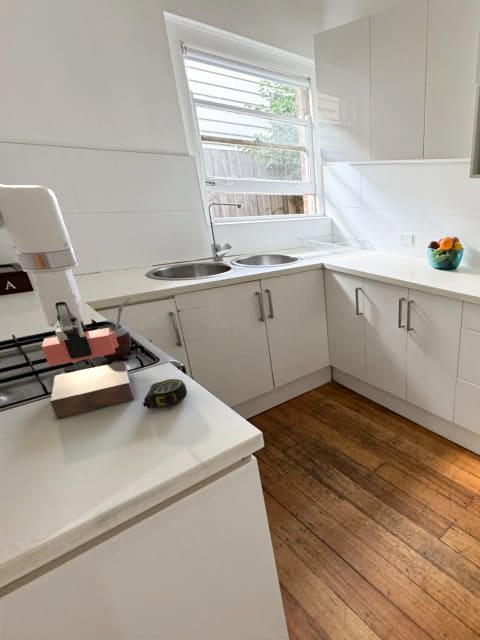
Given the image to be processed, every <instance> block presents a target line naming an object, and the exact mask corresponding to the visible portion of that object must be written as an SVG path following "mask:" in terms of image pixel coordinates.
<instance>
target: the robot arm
mask: <svg viewBox="0 0 480 640" xmlns="http://www.w3.org/2000/svg"><path fill="white" fill-rule="evenodd" d="M5 229H6V231H7V233H8V236H9V239H10V241H11V243H12V246H13V248H14V249H13V250H14V251H15V253H16V256H17V258H18V261H19V264H20V266H21V269H22V271H23V272H25V273H31V275H32V281H33V285H34V288H35V291H36V293H37V296H38V300H39V302H40V306H41V309H42V311H43V315H44V317H45V320H46V323H47V326H49V327H52V328H53V327H55V325H57V323H58V325H59V327H60V328H61V331H62V334H63V337H64V342H65V345H66V347H67V350H68V353H69V355H70V358H71V359H75V358H80V357H86V356H90V355H92V352H91V349H90V346H89V343H88V340H87V338H86V336H84V335H83V332H87V331H88V328H87V326H85V322H84V320H83V319H84V307H83V301H82V298H81V294H80V290H79V287H78V285H77V282H76V281H77V280H76V279H75V275H74V272H73V270H72V269H75V268H77V267H79V263H78V260H77V256H76V254H75V251H74V248H73V244H72V242H71V239H70V235H69V233H68V229H67V226H66V223H65V221H64V217H63V214H62V212H61V208H60V205H59V203H58V199H57V197H56V195H55V193H54V192H53V191H52V190H51V189H50V188H48V187H45V186H40V185H5V184H4V185H3V184H0V230H5ZM80 324H81V325H80ZM73 325H76V327H77V328H76V327H73ZM81 327H82V328H81ZM82 330H83V332H82Z"/></svg>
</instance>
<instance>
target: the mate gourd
mask: <svg viewBox="0 0 480 640" xmlns="http://www.w3.org/2000/svg"><path fill="white" fill-rule="evenodd" d="M130 300H131V297H129V298H128V299H126V300H125V301H123V302H122V303H121V304H120V305H119V306H118V308H117V316H116V324H108V325H104V326H103V325H102V326H100V327H99V328H97V329H96V330H99V329H105V328H109V331H110V332H114V333H115V335H116V339H117V342H118V345H119V347H117V348H115V353H114V354H109V355H103V356H102V357H103V358H104V359H105V360H104V363H106V364H110V363H111V362H114V361H116V360H122V361H129V359H130V358H129V357H128V356H129V355H131V354H133V352H132V350H131V349H130V348H131V345H132V336H131V333H130V331H129V329H128V328H126V327H125V326H124V325H122V324H120V321H121V316H122V312H123V308H124V306H125V305H126V304H127V303H128V302H129V301H130Z"/></svg>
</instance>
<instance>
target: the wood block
mask: <svg viewBox="0 0 480 640" xmlns="http://www.w3.org/2000/svg"><path fill="white" fill-rule="evenodd" d="M134 400H135V397H134V391H133V387H132V380H131V376H130V372H129V369H128V366H127V362H126V360H122V361H120V362H119V361H118V362H114V363H108V364H105V365H99V366H95V367H89V368H85V369H80V370H75V371H71V372H65V373H61V374H56V375H54V377H53V384H52V389H51V394H50V400H49V403H50V405H51V408H52V410H53V412H54V414H55V416H56V419H57V420H59V419H63V418H68V417H71V416H75V415H78V414H83V413H87V412H91V411H94V410H99V409H101V408H102V409H103V408H107V407H110V406H115V405H117V404H118V405H119V404H122V403H126V402H130V401H134Z"/></svg>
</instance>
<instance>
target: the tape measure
mask: <svg viewBox="0 0 480 640" xmlns="http://www.w3.org/2000/svg"><path fill="white" fill-rule="evenodd" d="M187 394H188V389H187V387H186V384H185V382H184V381H183V380H182V379H177V378H169V379H165V380H162V381H158V382H156V383H155V382H154V383H153V384H151V386H150V387H149V390H148V392H147V394H146V396H144V399H143V402H141V404H142V406H143V407H145V408H147V409H149V410H152V409H156V408H165V407H171V406H174V405H176V404H179V403H181V402H182V401H183V400H184V399H186V397H187Z"/></svg>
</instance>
